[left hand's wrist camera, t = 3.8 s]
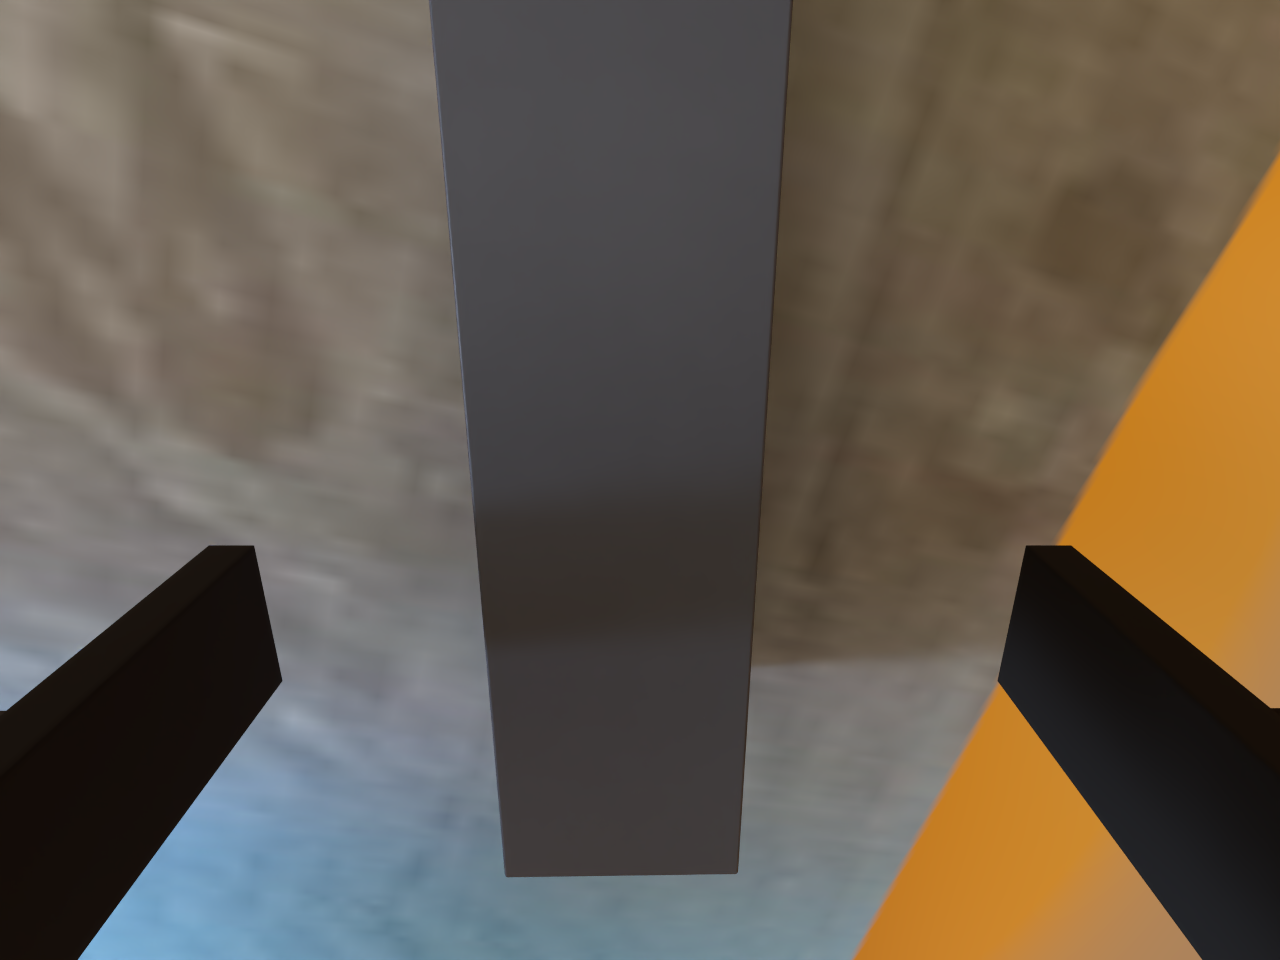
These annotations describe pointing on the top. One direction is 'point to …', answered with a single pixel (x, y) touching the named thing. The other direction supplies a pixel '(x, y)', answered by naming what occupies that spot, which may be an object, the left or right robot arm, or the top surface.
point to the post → (615, 405)
